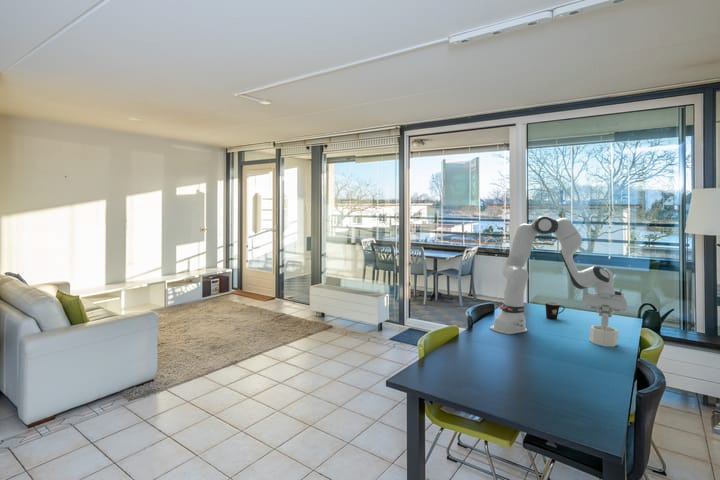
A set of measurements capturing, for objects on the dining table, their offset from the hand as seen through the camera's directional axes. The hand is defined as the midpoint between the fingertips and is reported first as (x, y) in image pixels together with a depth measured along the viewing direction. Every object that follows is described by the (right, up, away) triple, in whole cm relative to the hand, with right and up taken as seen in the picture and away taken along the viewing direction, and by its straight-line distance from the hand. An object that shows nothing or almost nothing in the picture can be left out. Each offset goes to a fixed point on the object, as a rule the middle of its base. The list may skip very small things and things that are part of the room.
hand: (605, 316), depth 213 cm
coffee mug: (-4, -11, +49) cm, 50 cm away
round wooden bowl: (0, -15, +2) cm, 15 cm away
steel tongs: (+1, -10, +2) cm, 11 cm away
